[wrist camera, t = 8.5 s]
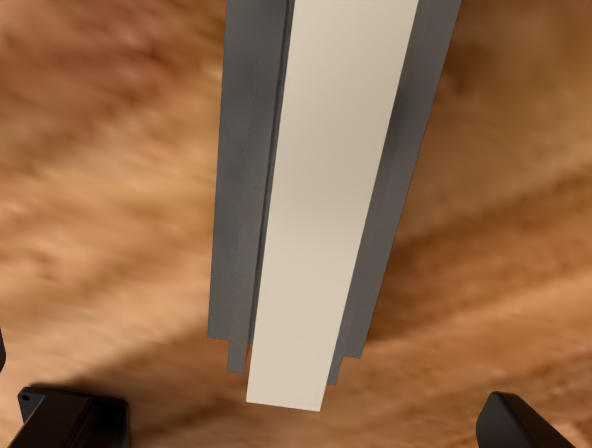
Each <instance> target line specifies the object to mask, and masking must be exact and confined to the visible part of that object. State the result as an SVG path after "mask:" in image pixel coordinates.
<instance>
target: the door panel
mask: <svg viewBox="0 0 592 448" xmlns="http://www.w3.org/2000/svg"><path fill="white" fill-rule="evenodd" d="M417 4H418V0H295V6H294V14H293V22H292V30H291V38H290V47H289V55H288V63H287V71H286V79H285V87H284V96H283V104H282V112H281V120H280V128H279V136H278V144H277V153H276V161H275V169H274V177H273V185H272V193H271V202H270V210H269V218H268V226H267V234H266V242H265V251H264V259H263V267H262V275H261V283H260V291H259V300H258V308H257V316H256V324H255V332H254V340H253V349H252V357H251V365H250V373H249V381H248V389H247V397H246V402H251V403H259V404H266V405H274V406H281V407H289V408H296V409H304V410H311V411H319V412H320V408H321V403H322V399H323V395H324V391H325V387H326V383H327V378H328V374H329V370H330V366H331V362H332V358H333V354H334V349H335V345H336V341H337V337H338V333H339V329H340V324H341V320H342V316H343V312H344V308H345V304H346V299H347V295H348V291H349V287H350V283H351V279H352V275H353V270H354V266H355V262H356V258H357V254H358V250H359V245H360V241H361V237H362V233H363V229H364V225H365V221H366V216H367V212H368V208H369V204H370V200H371V196H372V191H373V187H374V183H375V179H376V175H377V171H378V167H379V162H380V158H381V154H382V150H383V146H384V142H385V137H386V133H387V129H388V125H389V121H390V117H391V112H392V108H393V104H394V100H395V96H396V92H397V88H398V84H403V85H406V83H407V78H408V74H409V70H410V66H411V62H412V58H413V54H414V50H412V49H409V48H407V46H408V42H409V38H410V34H411V29H412V25H413V21H414V17H415V13H416V9H417Z"/></svg>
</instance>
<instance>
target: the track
mask: <svg viewBox="0 0 592 448" xmlns="http://www.w3.org/2000/svg"><path fill="white" fill-rule="evenodd" d="M461 1H462V0H418V4H417V9H416V13H415V17H414V21H413V25H412V29H411V34H410V38H409V42H408V46H407V48H409V49H412V50H414V54H413V58H412V62H411V66H410V70H409V74H408V78H407V83H406V85H403V84H398V88H397V92H396V96H395V100H394V104H393V108H392V112H391V117H390V121H389V125H388V129H387V133H386V137H385V142H384V146H383V150H382V154H381V158H380V162H379V167H378V171H377V175H376V179H375V183H374V187H373V191H372V196H371V200H370V204H369V208H368V212H367V216H366V221H365V225H364V229H363V233H362V237H361V241H360V245H359V250H358V254H357V258H356V262H355V266H354V270H353V275H352V279H351V283H350V287H349V291H348V295H347V299H346V304H345V308H344V312H343V316H342V320H341V324H340V329H339V333H338V337H337V341H336V345H335V349H334V354H333V358H332V362H331V366H330V370H329V374H328V378H327V383H326V384H327V385H336V381H337V377H338V373H339V369H340V366H341V362H342V358H343V356H344V357H352V358H359V359H360V358H361V355H362V351H363V348H364V344H365V341H366V337H367V333H368V330H369V326H370V323H371V319H372V316H373V312H374V309H375V305H376V302H377V298H378V295H379V291H380V288H381V284H382V280H383V277H384V273H385V270H386V266H387V263H388V259H389V256H390V252H391V249H392V245H393V242H394V238H395V235H396V231H397V227H398V224H399V220H400V217H401V213H402V210H403V206H404V203H405V199H406V196H407V192H408V189H409V185H410V182H411V178H412V174H413V171H414V167H415V164H416V160H417V157H418V153H419V150H420V146H421V143H422V139H423V136H424V132H425V129H426V125H427V121H428V118H429V114H430V111H431V107H432V104H433V100H434V97H435V93H436V90H437V86H438V83H439V79H440V76H441V72H442V68H443V65H444V61H445V58H446V54H447V51H448V47H449V44H450V40H451V37H452V33H453V30H454V26H455V23H456V19H457V15H458V12H459V8H460V5H461ZM294 6H295V0H227V7H226V24H225V41H224V58H223V76H222V93H221V110H220V127H219V145H218V162H217V179H216V196H215V213H214V231H213V248H212V265H211V282H210V300H209V317H208V334H207V338H214V339H221V340H228V341H230V342H229V353H228V364H227V371H232V372H239V373H244V369H245V364H246V359H247V354H248V349H249V344H253V340H254V332H255V324H256V316H257V308H258V300H259V291H260V283H261V275H262V267H263V259H264V251H265V242H266V234H267V226H268V218H269V210H270V202H271V193H272V185H273V177H274V169H275V161H276V153H277V144H278V136H279V128H280V120H281V112H282V104H283V96H284V87H285V79H286V71H287V63H288V55H289V47H290V38H291V30H292V22H293V14H294Z"/></svg>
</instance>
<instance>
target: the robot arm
mask: <svg viewBox="0 0 592 448" xmlns="http://www.w3.org/2000/svg"><path fill="white" fill-rule="evenodd" d="M5 361H6V352H5V347H4V342H3V338H2V333H1V329H0V372H1V371H2V369H3V367H4V364H5ZM18 401H19V405H20V410H21V414H22V418H23V423H24V425H23V426H22V428H21V429H20V430H19V432H18V433H17V435H16V436H15V437H14V439H13V440H12V442H11V443H10V444H9V446H8V447H7V448H131V437H130V420H129V405H128V403H127V402H126V401H124V400H122V399H116V398H109V397H101V396H94V395H86V394H79V393H71V392H64V391H57V390H49V389H42V388H34V387H24V388H23V389H22V390H21V391H20V392H19V394H18ZM476 436H477V441H478V446H479V448H576V447H574V446H573V445H572V444H571V443H570V442H569V441H568V440H567V439H566V438H565V437H563V436H562V435H561V434H560V433H559V432H558V431H557V430H556V429H555V428H553V427H552V426H551V425H550V424H549V423H548V422H547V421H546V420H545V419H544V418H542V417H541V416H540V415H539V414H538V413H537V412H536V411H535V410H534V409H533V408H531V407H530V406H529V405H528V404H527V403H526V402H525V401H524V400H523V399H521V398H520V397H519V396H518V395H516V394H513V393H506V392H499V391H495V392H492V393H491V394H490V395H489V397H488V399H487V401H486V403H485V405H484V407H483V409H482V411H481V413H480V415H479V417H478V419H477V422H476Z"/></svg>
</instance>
